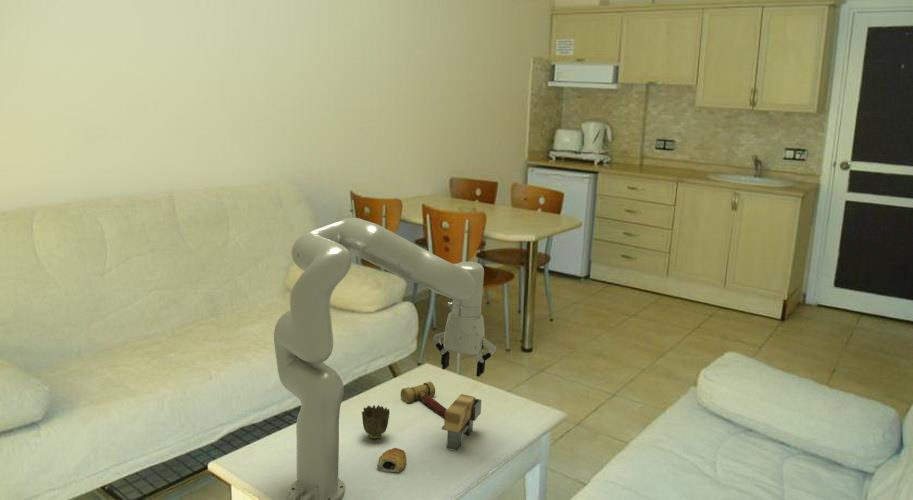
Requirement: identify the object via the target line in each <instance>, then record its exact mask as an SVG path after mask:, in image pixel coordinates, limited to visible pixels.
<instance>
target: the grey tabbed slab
mask: <svg viewBox="0 0 913 500" xmlns="http://www.w3.org/2000/svg"><path fill="white" fill-rule="evenodd" d="M467 429H468V425H464V426H463V427H462V429H461V430H460V431H459V432H454V431H450V430H446V429H444V425H442V426H441V430H443V431H447V438H446V449H448V450H452V451H457V452H458V450H460V448H461V447H462V442H463V435H462V434H464V432H465V431H466V430H467Z"/></svg>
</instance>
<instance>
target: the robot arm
mask: <svg viewBox="0 0 913 500" xmlns="http://www.w3.org/2000/svg"><path fill="white" fill-rule="evenodd" d="M352 255H353V256H355V257H359V258H360V259H362V260H365V261H367V262H369V263H371V264H372V265H375V266H377V267H378V268H382V269H384V270H385V271H388V272H389V273H391V274H393V275H395V276H397V277H400V278H402V279H405V280H406V281H409V282H412V283H414V284H415V283H416V284H419V285H421V286H424V287H427V289H429V290H430V291H432V292H434V293H436V294H439V295H441V296H444V297H446V298H449V299H451V300H452V301H451V302H450V301H448V303H447V308H450V309H451V310H450V312H449V313H448V315H447V318H446V323H445V329H444V331H443V332H440V333H437V334H435V335H433V337H432V339H433V341H434V343H435V347H436V348H437V350H438V351H439V353H440V356H441V361H440V365H442V366H441V368H442V370H446V369H447V368H448V367H449V365H450V357H451V356H450V355H451V353H450V352H453V353H458V354H462V355H468V356H475V357H476V358H477V360H478V361H477V362H476V363H477V364H476V375H475V376H476V377H478V378H479V377H481V376H482V374H484V373H485V369H486V361H487V360H488V359H490V357H492V356H493V354H494V352H495V351H496V350H497V346H496V345H494V344H493V343H492V342H490V341H489V340H487V339H486V338H485V320H484V315H483V314H482V306H483V303H482V302H483V292H484V291H483V290H484V276H485V269H484V266H483V265H482V264H481V263H478V262H475V261H461V262H459V263H451V262H450V261H447V260H446V259H443V258H441V257H440V256H438V255H436V254H434V253H432V252H430V251H428V250H427V249H425V248H423V247H421V246H419V245H417V244H416V243H414V242H412V241H410V240H408V239H406V238H404V237H402V236H400V235H398V234H396V233H395V232H393V231H391V230H389V229H387V228H386V227H383V226H382V225H380V224H378V223H374V222H371V221H370V220H369V221H368V220H364V219H362V218H359V217H348V218H344V219H342V220H337V221H336V222H332V223H329V224H327V225H324V226H321V227H318V228H316V229H314V230H310V231H308V232H306V233H303V234H302V235H300V236H299V237H297V239H296V240H295V241H294V243H293V245H292V248H291V258H292V260H293V263H294V264H295V265H296V266H297V267H298V268H299V269H301V270H302V271H303V272H302V273H301V274H300V276H299V277H298V279H296V282H295V283H294V285H293V287H292V289H291V292H290V297H289V305H290V306H289V307H290V309H289V310H288V311H286V312H284V313H283V314H282V315H281V316H280V317H279V318H278V320H277V321H276V324H275V326H274V331H273V343H274V351H275V352H274V353H275V359H276V367H277V373H278V378H279V381H280V383H281V385H282V386H283V387H284V388H285V389H286V390H287V391H289V393H291V394H292V395H294V396H295V397H296V398H297V399H298V400H299V401H300V410H299V412H298V414H297V418H296V480H295V481H294V482H293V483H292V484H291V485H290V488H289V495H288V496H287V498H286V500H341V498H343V496H344V495H345V492H346V485H345V482H344V481H343V480H342V479H340V478H339V465H340V464H339V459H340V458H339V457H340V455H339V454H340V453H339V452H340V449H339V448H340V446H339V445H340V413H341V412H340V411H341V406H342V405H341V404H342V402H343V401H342V400H343V397H344V390H345V389H344V388H345V387H344V383H343V379H342V378H341V376H340V375H339V373H338V372H337V371H336V370H335V369H333V368H332V367H331V366H329V365H328V364H326V363H325V361H327V360H328V359H329V358H330V356H331V355H332V353H333V350H334V335H333V326H332V315H331V297H332V294H333V292H334V290H335V289H336V288H337V286H338V285H339V284H340V282H342V281H343V279H344V278H345V277H346V276H347V274H348V273H349V271H350V269H351V266H352ZM441 339H443V342H442V341H441ZM485 347H486V348H487V349H488V351H487V352H485V351H484V348H485Z"/></svg>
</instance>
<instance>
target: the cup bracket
mask: <svg viewBox="0 0 913 500" xmlns="http://www.w3.org/2000/svg"><path fill="white" fill-rule="evenodd" d="M481 413H482V399H478V398H475V404H474V407H473V415H472V417H471V418H470V419H469V420H468V421H467V423H466V424H465V425H468V429H467V430H466V431H465V432H464V434H462V436H467V437H470V435H472V433H473V431H474V422H475V421H476V420H477V418H478V417H479V416H480V415H481Z"/></svg>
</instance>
